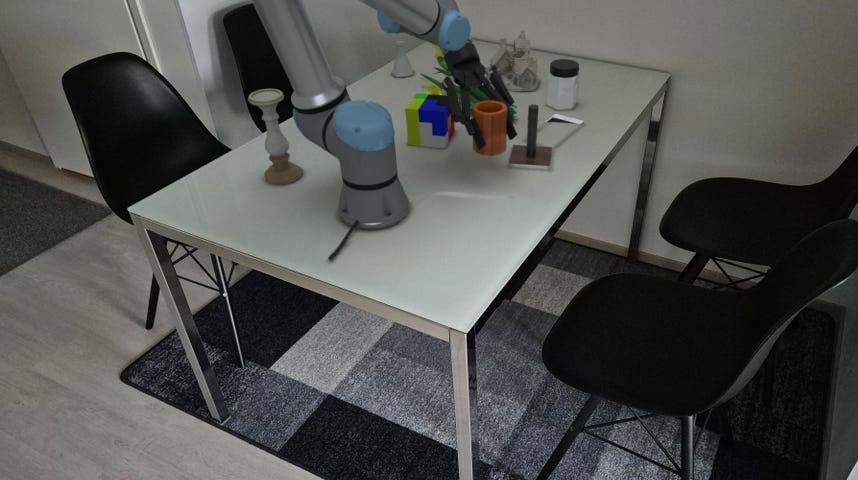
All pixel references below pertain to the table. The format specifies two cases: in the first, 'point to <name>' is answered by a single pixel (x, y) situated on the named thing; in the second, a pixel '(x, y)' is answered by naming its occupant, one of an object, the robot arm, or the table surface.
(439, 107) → the puzzle toy
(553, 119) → the cell phone
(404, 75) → the flask
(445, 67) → the daffodil flowers
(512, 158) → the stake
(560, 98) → the jar
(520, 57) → the ceramic cottage
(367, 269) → the table surface
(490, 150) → the orange hollow cylinder
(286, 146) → the candle holder
